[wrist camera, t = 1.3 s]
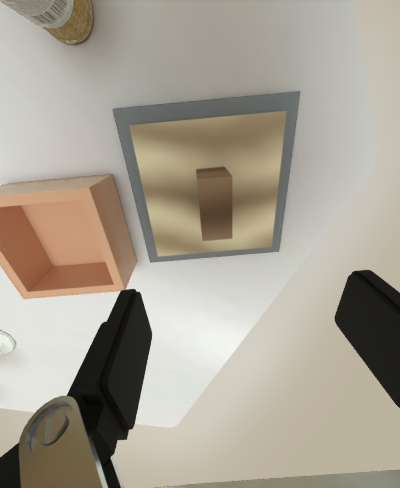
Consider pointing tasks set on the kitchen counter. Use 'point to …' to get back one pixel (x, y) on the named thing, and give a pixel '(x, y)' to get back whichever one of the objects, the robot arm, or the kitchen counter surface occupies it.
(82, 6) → the sprinkles bottle
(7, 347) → the candle
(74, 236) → the open wooden tray
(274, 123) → the lid
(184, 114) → the mat
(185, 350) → the kitchen counter surface
